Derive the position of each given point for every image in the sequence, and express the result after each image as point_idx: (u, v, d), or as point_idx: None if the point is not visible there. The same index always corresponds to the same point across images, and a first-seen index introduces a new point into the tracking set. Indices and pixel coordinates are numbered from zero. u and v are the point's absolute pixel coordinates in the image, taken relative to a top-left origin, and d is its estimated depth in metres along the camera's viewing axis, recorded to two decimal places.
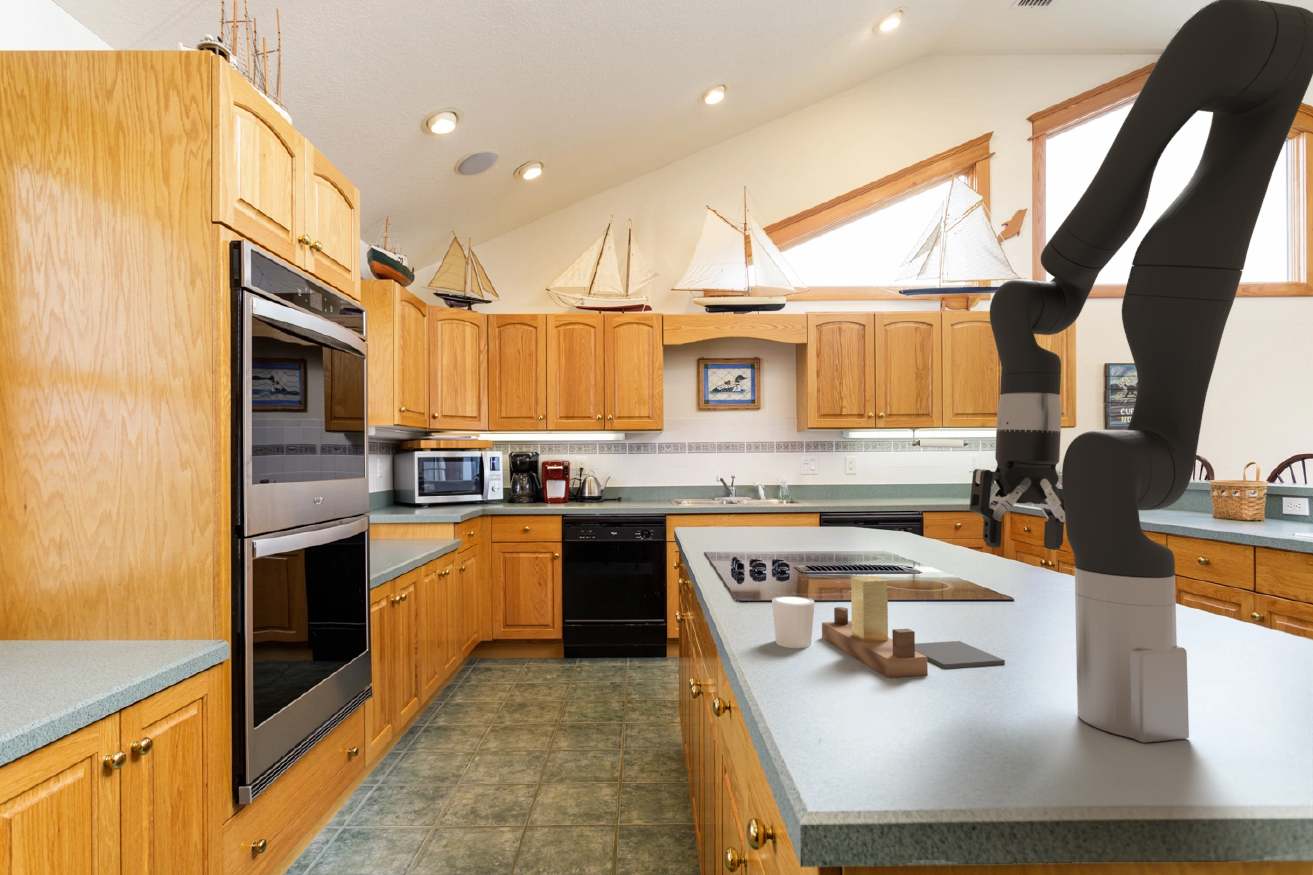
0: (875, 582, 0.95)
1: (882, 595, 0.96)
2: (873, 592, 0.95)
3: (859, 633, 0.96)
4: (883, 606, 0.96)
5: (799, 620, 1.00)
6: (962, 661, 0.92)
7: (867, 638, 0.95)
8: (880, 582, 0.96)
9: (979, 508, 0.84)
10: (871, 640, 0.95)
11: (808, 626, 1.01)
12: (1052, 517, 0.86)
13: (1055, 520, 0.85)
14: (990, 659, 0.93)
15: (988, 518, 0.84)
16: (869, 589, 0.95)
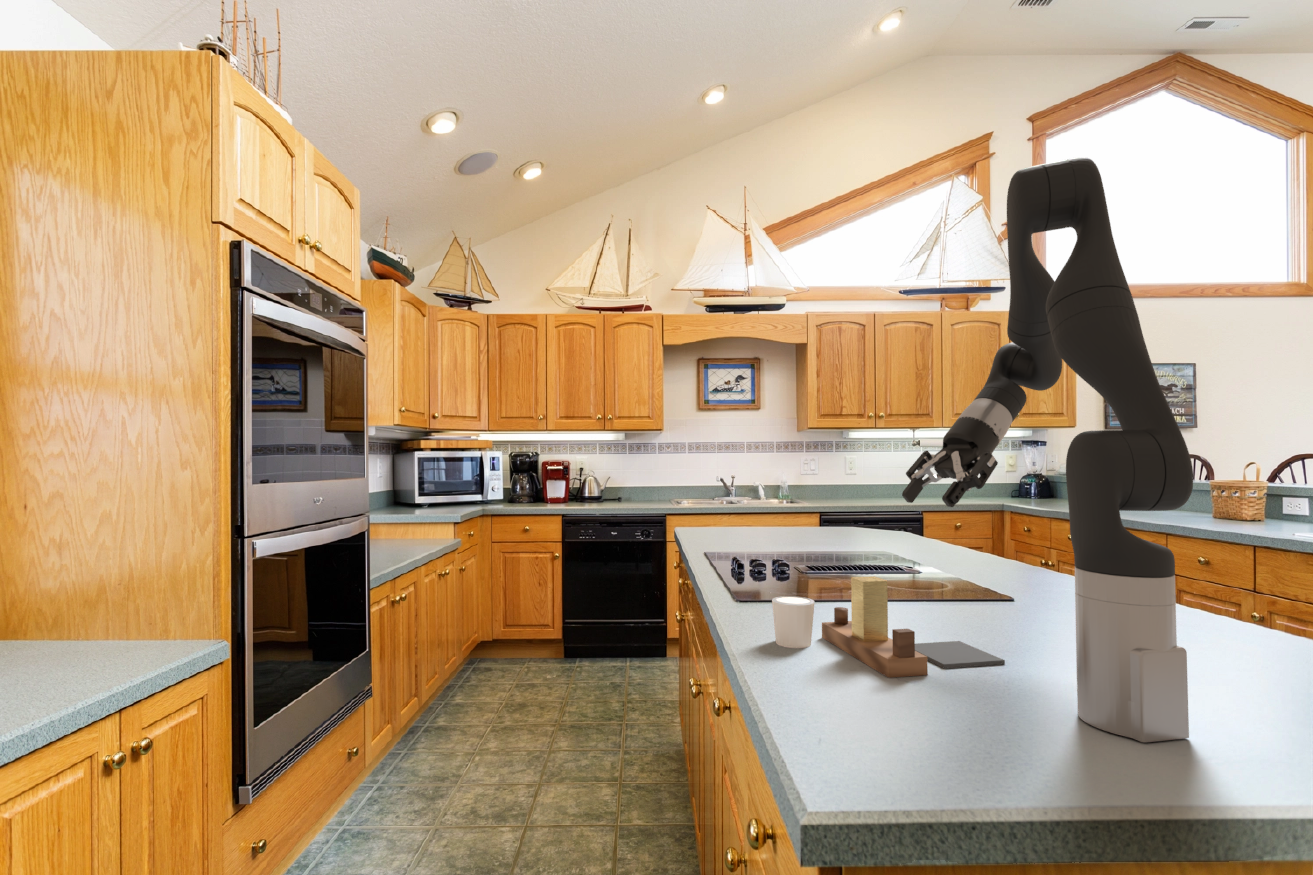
0: (875, 582, 0.95)
1: (882, 595, 0.96)
2: (873, 592, 0.95)
3: (859, 633, 0.96)
4: (883, 606, 0.96)
5: (799, 620, 1.00)
6: (962, 661, 0.92)
7: (867, 638, 0.95)
8: (880, 582, 0.96)
9: None
10: (871, 640, 0.95)
11: (808, 626, 1.01)
12: None
13: None
14: (990, 659, 0.93)
15: (911, 480, 1.08)
16: (869, 589, 0.95)
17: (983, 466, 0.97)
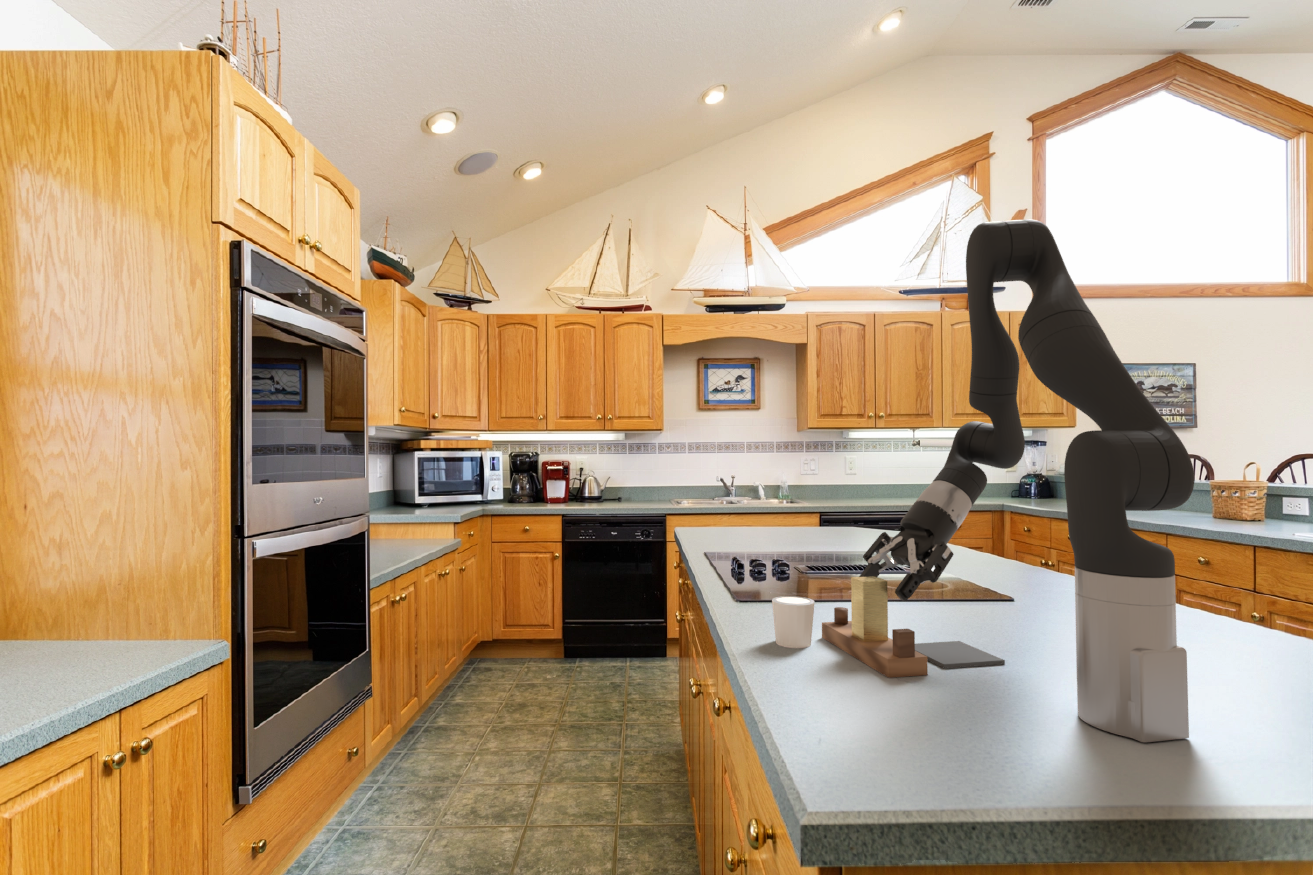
0: (875, 582, 0.95)
1: (882, 595, 0.96)
2: (873, 592, 0.95)
3: (859, 633, 0.96)
4: (883, 606, 0.96)
5: (799, 620, 1.00)
6: (962, 661, 0.92)
7: (867, 638, 0.95)
8: (880, 582, 0.96)
9: None
10: (871, 640, 0.95)
11: (808, 626, 1.01)
12: None
13: (910, 574, 0.95)
14: (990, 659, 0.93)
15: (868, 564, 1.04)
16: (869, 589, 0.95)
17: (937, 559, 0.93)
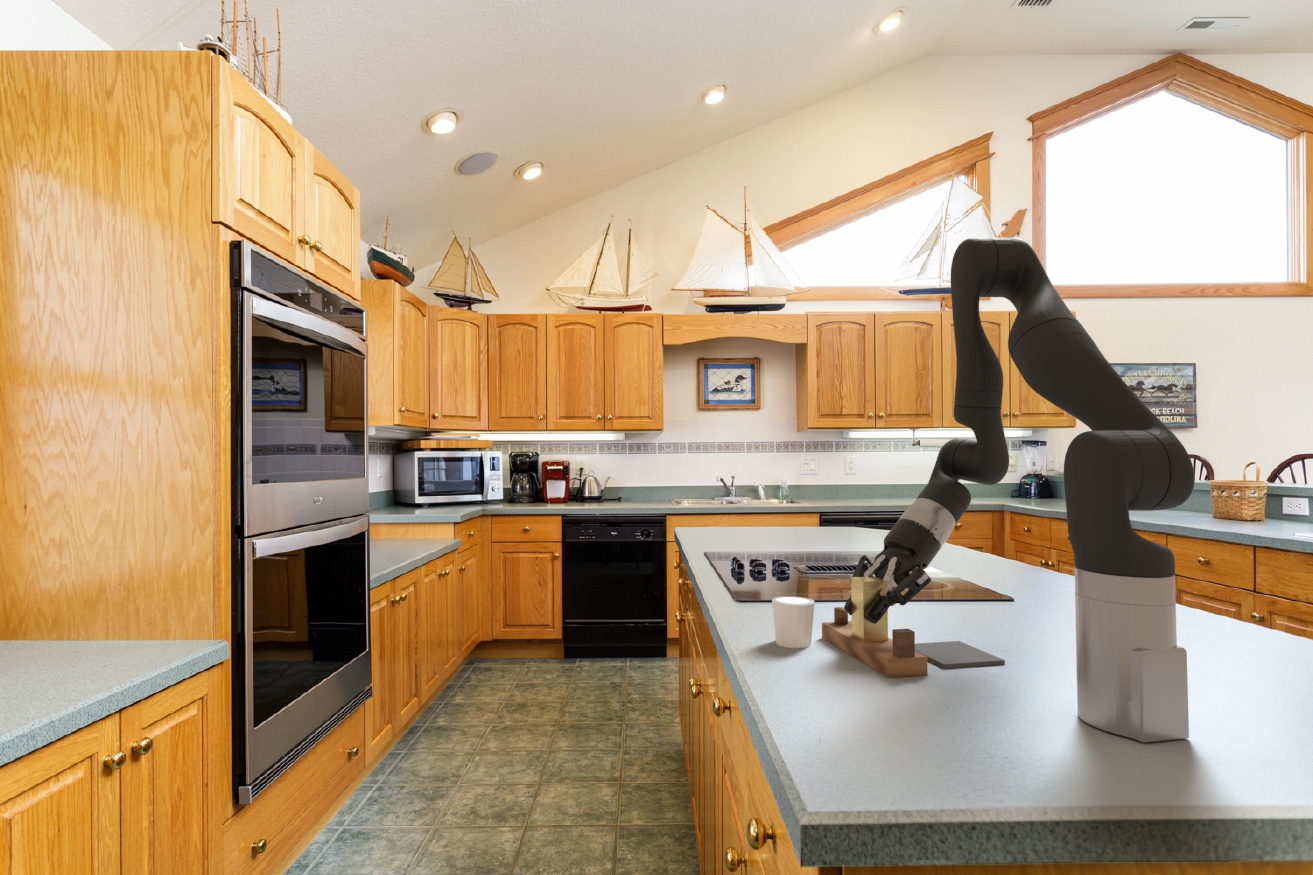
0: (875, 582, 0.95)
1: None
2: (873, 591, 0.95)
3: (859, 633, 0.96)
4: None
5: (799, 620, 1.00)
6: (962, 661, 0.92)
7: (867, 638, 0.95)
8: (880, 582, 0.96)
9: None
10: (871, 640, 0.95)
11: (808, 626, 1.01)
12: None
13: (880, 596, 0.95)
14: (990, 659, 0.93)
15: None
16: (869, 588, 0.95)
17: (909, 584, 0.93)
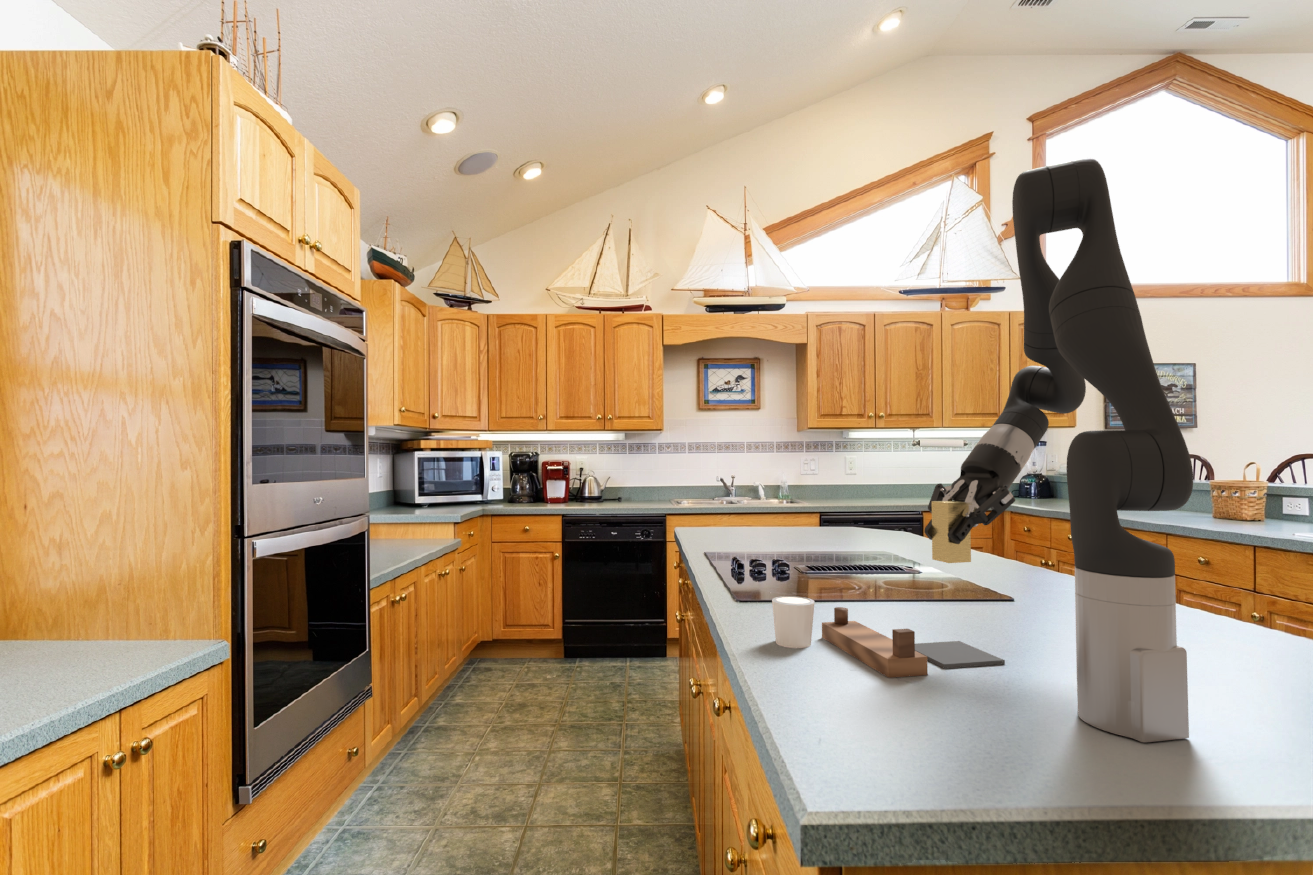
0: (959, 504, 0.95)
1: None
2: (957, 513, 0.95)
3: (943, 555, 0.96)
4: None
5: (799, 620, 1.00)
6: (962, 661, 0.92)
7: (952, 559, 0.95)
8: (963, 504, 0.96)
9: None
10: (955, 561, 0.95)
11: (808, 626, 1.01)
12: None
13: (962, 518, 0.95)
14: (990, 659, 0.93)
15: None
16: (953, 510, 0.95)
17: (994, 504, 0.93)
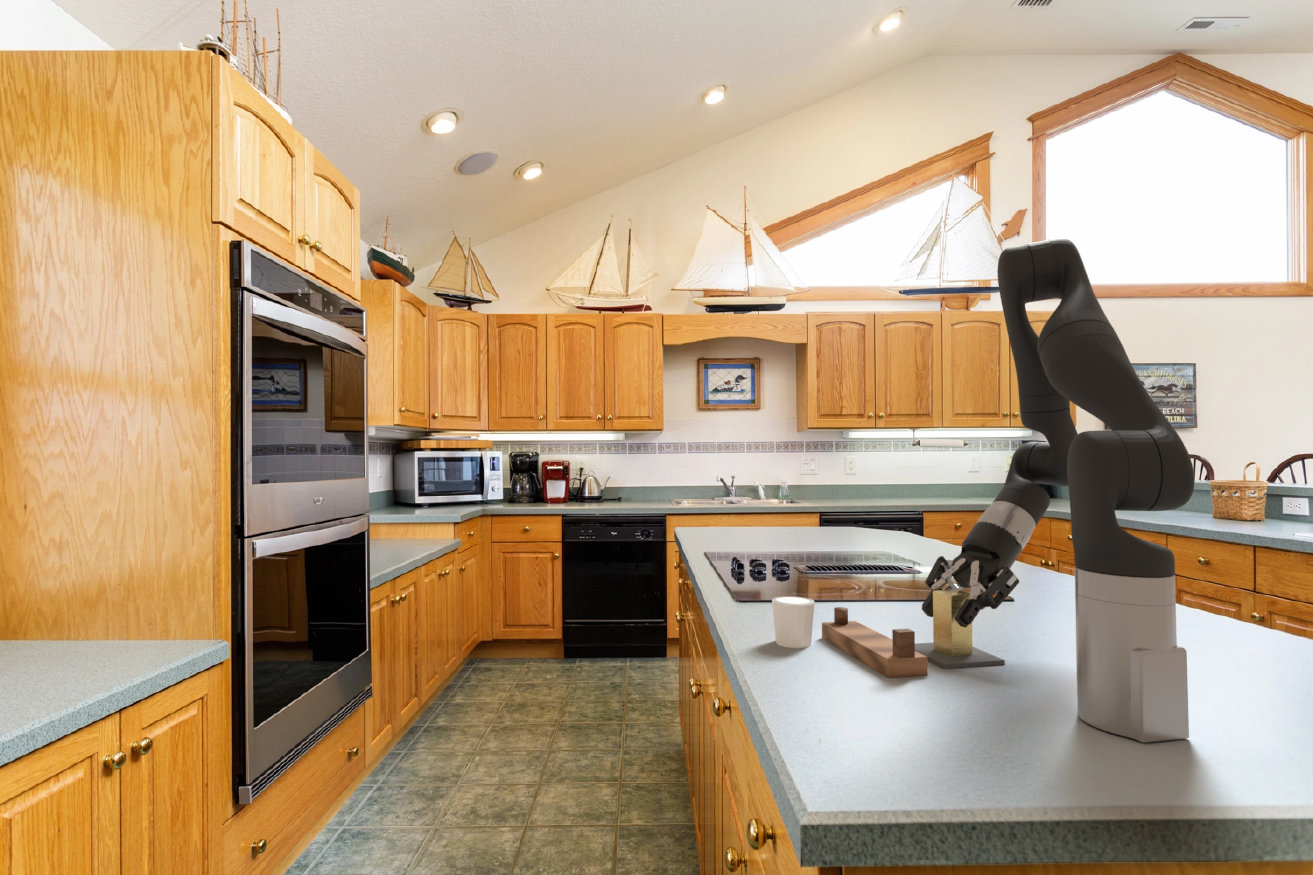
0: (961, 595, 0.95)
1: None
2: (960, 605, 0.95)
3: (945, 647, 0.95)
4: None
5: (799, 620, 1.00)
6: (962, 661, 0.92)
7: (955, 652, 0.94)
8: (965, 595, 0.95)
9: None
10: (958, 654, 0.94)
11: (808, 626, 1.01)
12: None
13: (970, 600, 0.94)
14: (990, 659, 0.93)
15: (932, 591, 1.01)
16: (956, 602, 0.95)
17: (1000, 586, 0.92)
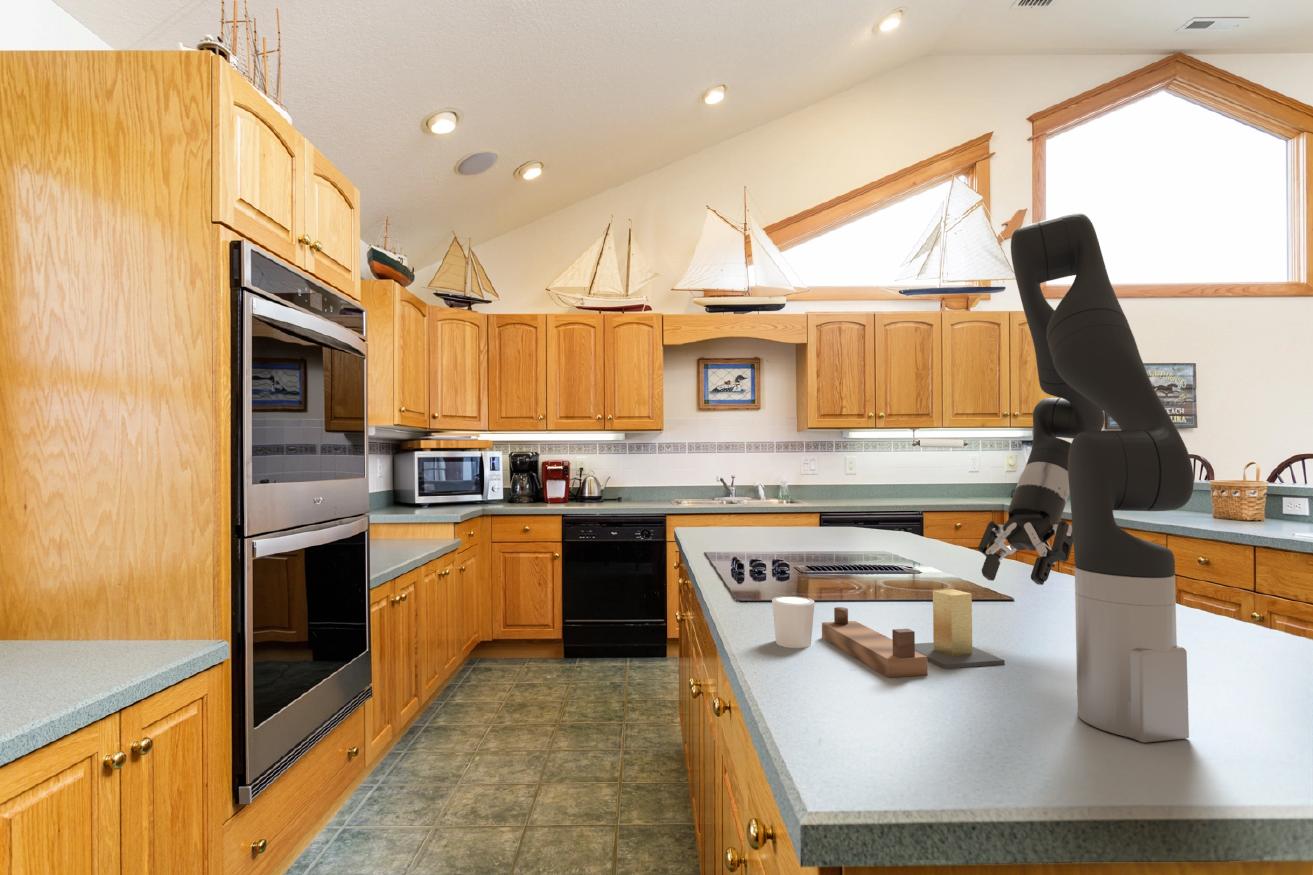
0: (961, 595, 0.95)
1: (967, 608, 0.95)
2: (959, 605, 0.95)
3: (945, 647, 0.95)
4: (968, 619, 0.95)
5: (799, 620, 1.00)
6: (962, 661, 0.92)
7: (955, 652, 0.94)
8: (965, 595, 0.95)
9: None
10: (958, 654, 0.94)
11: (808, 626, 1.01)
12: None
13: (1040, 557, 0.98)
14: (990, 659, 0.93)
15: (986, 556, 1.07)
16: (956, 602, 0.95)
17: (1064, 538, 0.97)
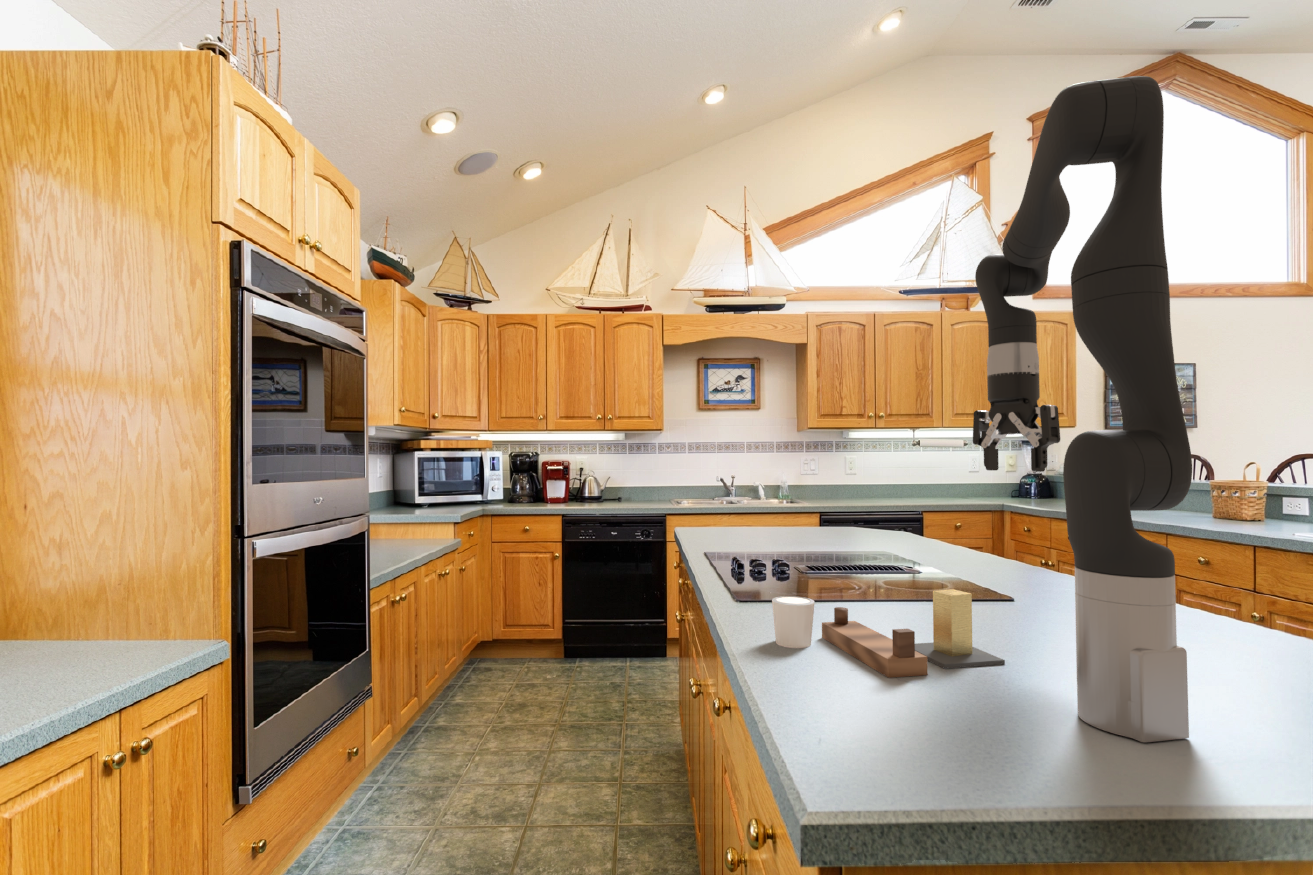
0: (961, 595, 0.95)
1: (967, 608, 0.95)
2: (959, 605, 0.95)
3: (945, 647, 0.95)
4: (968, 619, 0.95)
5: (799, 620, 1.00)
6: (962, 661, 0.92)
7: (955, 652, 0.94)
8: (965, 595, 0.95)
9: (973, 440, 1.11)
10: (958, 654, 0.94)
11: (808, 626, 1.01)
12: None
13: (1034, 446, 1.00)
14: (990, 659, 0.93)
15: (983, 447, 1.09)
16: (956, 602, 0.95)
17: (1050, 424, 0.98)
